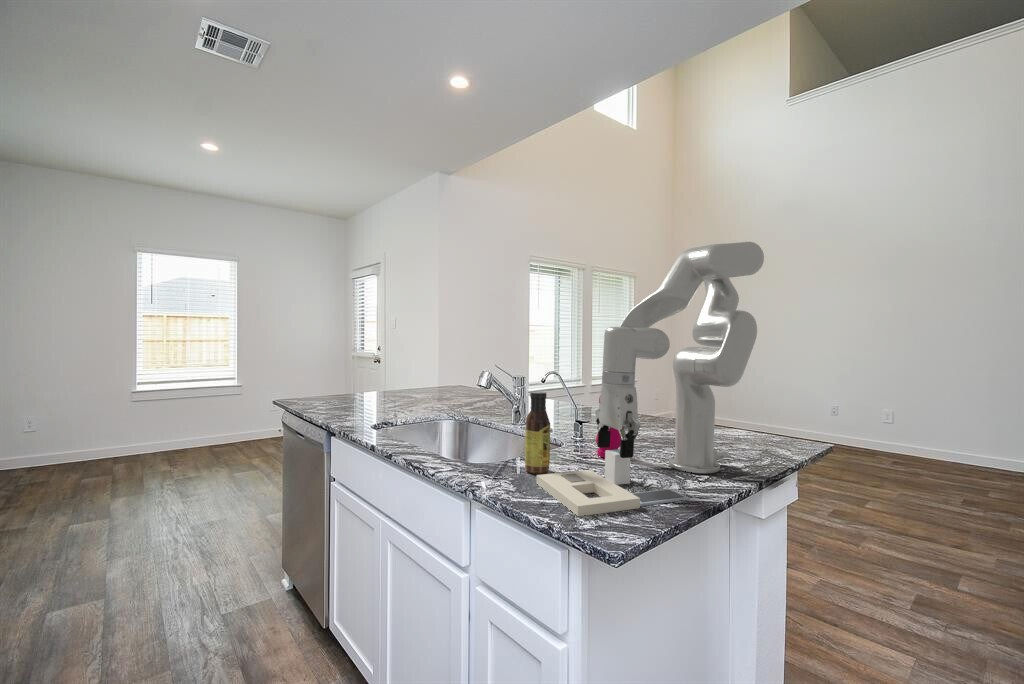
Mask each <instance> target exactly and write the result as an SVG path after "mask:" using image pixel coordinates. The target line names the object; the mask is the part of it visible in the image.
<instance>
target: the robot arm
mask: <svg viewBox="0 0 1024 684" xmlns="http://www.w3.org/2000/svg"><path fill="white" fill-rule="evenodd" d="M764 260H765V255H764V251H763V249H762V247H760V245H759V244H758V243H755V242H753V241H742V242H729V243H727V242H726V243H715V244H709V245H703V246H698V247H692V248H688V249H684V250H683V251H682V252H681V253H680V254H679V255H678V256H677V257H676V259H675V261H674V262H673V264H671V265H672V266H671V267H670V269H669V270H668V272H667V274H666V275H665V276H664V278H663V279H662V281H661V282H660V284H659V286H658V288H657V289H656V290H655V291H654V292H653V293H651V294H650V295H648V296H646V297H645V298H644V299H643V300H642V301H640V303H638V304H637V305H635V306H634V307H633V308H632V309H631V310H630V311H629V312H628V313H627V314H626V315H625V317H624V318H623V320H622V322H620V324H619V326H608V327H607V328H606V329H604V335H603V337H604V339H603V351H602V352H603V353H602V354H603V355H602V373H601V374H602V378H601V389H600V390H601V391H600V395H599V397H600V403H599V402H598V405H599V406H598V409H596V410H595V412H594V413H595V419H596V421H595V422H596V424H597V428H596V429H597V433H598V445H597V444H596V445H597V448H598V449H599V448H607V447H610V435H611V431H608V430H609V429H610V427H611V428H614V429H617V430H619V432H620V435H621V438H622V440H621V444H620V447H619V449H620V457H621V458H630V459H632V458H634V450H635V449H634V447H635V441H636V439H637V436H638V435H639V431H640V428H641V425H642V424H641V422H640V421H639V420H638V418H639V417H638V412H639V411H638V410H639V409H638V406H639V405H638V393H637V388H636V386H635V385H636V384H635V383H636V382H635V381H636V365H637V364H636V363H637V362H636V361H637V359H641V360H658V359H661V358H663V357H664V356H665V355H666V354H667V353H668V351H669V349H670V344H671V343H670V339H669V336H668V335H667V334H666V333H665V331H663V330H661V329H659V328H656V327H655V328H654V327H652V326H653V325H655V324H656V323H658V322H660V321H662V320H664V319H667V318H669V317H672V316H674V315H677V314H679V313H680V312H682V311H684V310H685V309H687V308H688V306H689V305H690V303H691V301H692V300H693V298H694V296H695V294H696V293H697V291H698V289H700V287H701V284H702V283H703V284H704V289H705V295H704V299H703V301H702V304H701V306H700V309H699V312H698V314H697V316H696V319H695V322H694V325H693V329H692V333H691V336H692V339H693V341H694V342H695V343H696V344H698V345H700V346H690V347H689V346H687V347H685V348H682V349H680V350H679V351H678V352H676V354H675V355H674V358H673V360H672V361H673V362H672V369H673V374H674V379H675V381H674V382H675V390H676V391H675V393H676V395H675V396H676V398H675V400H676V401H675V404H676V405H675V432H674V433H675V434H674V435H675V442H674V456H673V457H670V458H669V459H668V465H669V467H671V468H673V469H676V470H679V471H682V472H685V471H686V473H691V472H692V473H693V474H715V473H718V472H720V470H721V465H720V464H719V463H718V461H719V460H720V459H727V458H728V457H729V454H728V452H727V451H726V450H722V451H717V449H716V450H715V424H716V423H715V420H716V415H715V414H716V399H715V395H714V392H713V391H712V388H711V386H714V387H722V388H730V387H733V386H735V385H736V384H738V383H739V382H740V380H741V379H742V377H743V375H744V373H745V370H746V368H747V366H748V362H749V359H750V357H751V354H752V351H753V349H754V346H755V343H756V340H757V335H758V325H757V321H756V318H755V317H754V315H753V314H751V313H750V312H748V311H745V310H740V309H738V306H739V302H740V297H739V293H738V291H737V289H736V288H735V286H734V284H733V283H732V281H731V279H732V278H738V277H739V278H740V277H744V276H753V275H755V274H756V273H757V272H759V271H760V270H761V269H762V267H763V265H764V262H765V261H764Z"/></svg>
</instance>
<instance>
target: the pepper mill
mask: <svg viewBox="0 0 1024 684" xmlns="http://www.w3.org/2000/svg"><path fill="white" fill-rule="evenodd" d="M599 403H600V396H599V397H598V404H599ZM608 431H611V435H610V447H607V448H599V447H598V448H597V449H596V450H597V452H596V455H597V457H599V456H600V457H599V458H601V457H604V458H603V459H605V450H614V449H620V444H621V440H623V438H622V435H621V433H620V430H617V429H614V428H611V427H610V429H609V430H608ZM596 433H597V434H596V437H595V443H596V445H598V432H596Z"/></svg>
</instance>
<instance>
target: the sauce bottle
mask: <svg viewBox="0 0 1024 684" xmlns="http://www.w3.org/2000/svg"><path fill="white" fill-rule="evenodd" d="M546 403H547V392H545V391H531V392H530V411H529V412H528V414H527V416H526V418H525V419H526V420H525V431H524V432H525V434H524V435H525V437H524V438H525V440H524V441H525V442H524V443H525V444H524V464H525V465H524V466H525V467H524V468H525V469H524V470H525V472H527V473H530V474H535V475H542V474H547V473H548V472H549V471H550V460H551V459H550V458H551V455H550V454H551V453H550V452H551V451H550V450H551V421H550V419H549V416H548V413H547V410H546V409H547V408H546V406H547V405H546Z"/></svg>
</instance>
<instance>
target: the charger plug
mask: <svg viewBox="0 0 1024 684" xmlns="http://www.w3.org/2000/svg"><path fill="white" fill-rule="evenodd" d="M604 478H605V479H607V480H609V481H611V482H612V483H614V484H616V485H618V486H619V485H626V484H630V483H631V458H621V457H620V448H618V449H614V450H605V458H604Z"/></svg>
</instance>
